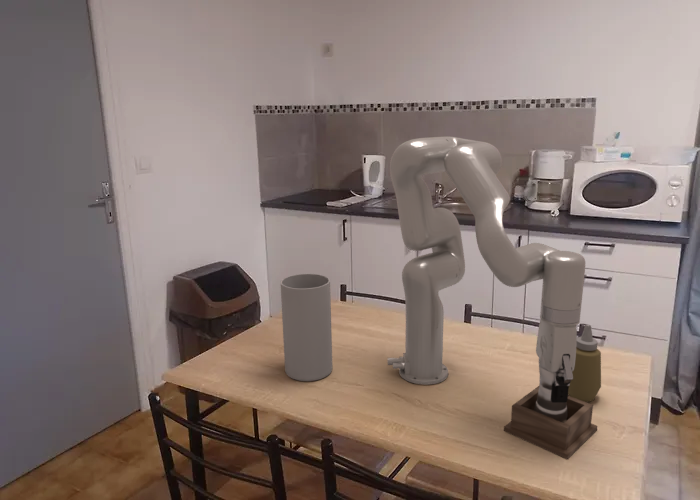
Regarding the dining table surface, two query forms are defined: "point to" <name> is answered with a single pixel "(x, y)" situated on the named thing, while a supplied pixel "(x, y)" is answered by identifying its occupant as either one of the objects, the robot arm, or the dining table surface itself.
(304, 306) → the cylinder vase
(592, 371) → the squeeze bottle
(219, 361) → the dining table surface
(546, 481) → the dining table surface
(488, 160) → the robot arm
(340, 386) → the dining table surface
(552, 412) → the plastic bottle
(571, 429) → the bottle caddy
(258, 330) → the dining table surface
